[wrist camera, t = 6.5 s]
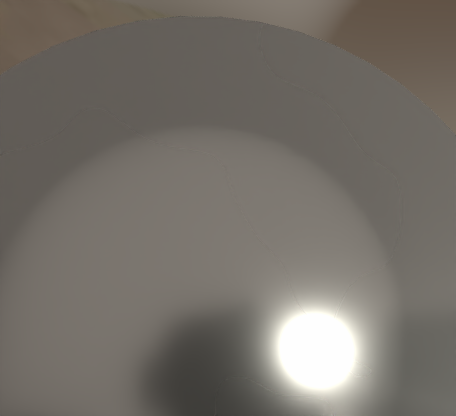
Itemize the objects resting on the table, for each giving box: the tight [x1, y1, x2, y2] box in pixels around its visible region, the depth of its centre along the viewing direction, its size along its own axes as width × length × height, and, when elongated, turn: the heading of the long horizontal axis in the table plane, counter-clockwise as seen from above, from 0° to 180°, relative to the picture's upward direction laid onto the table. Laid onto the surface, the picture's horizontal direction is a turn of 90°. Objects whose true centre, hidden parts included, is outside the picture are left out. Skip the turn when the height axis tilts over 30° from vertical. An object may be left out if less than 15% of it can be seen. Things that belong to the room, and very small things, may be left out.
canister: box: [0, 16, 456, 416], centre depth 9 cm, size 5×5×13 cm
